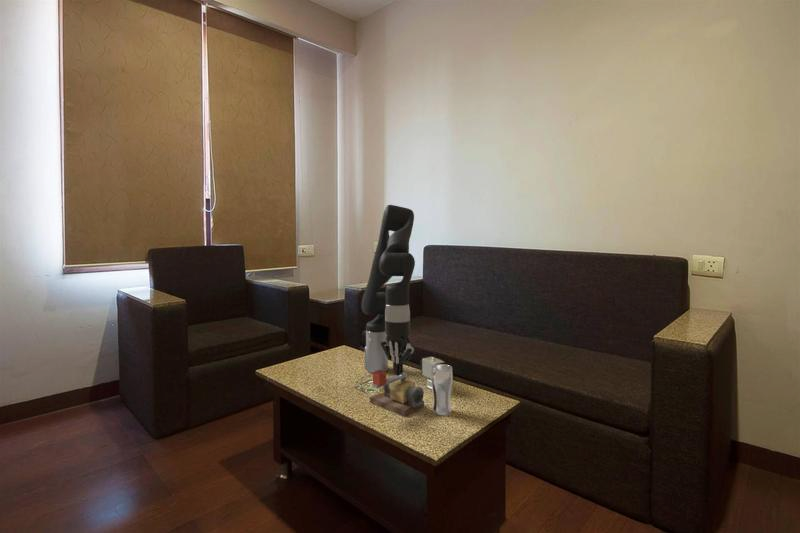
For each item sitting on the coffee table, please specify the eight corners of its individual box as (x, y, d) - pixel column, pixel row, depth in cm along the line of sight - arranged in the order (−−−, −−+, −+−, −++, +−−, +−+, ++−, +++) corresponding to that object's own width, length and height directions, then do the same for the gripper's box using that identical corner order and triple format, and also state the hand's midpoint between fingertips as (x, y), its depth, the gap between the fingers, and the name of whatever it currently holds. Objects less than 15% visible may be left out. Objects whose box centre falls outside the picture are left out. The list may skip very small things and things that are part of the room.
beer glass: (434, 405, 145) (434, 362, 144) (454, 408, 142) (455, 365, 141) (428, 414, 138) (428, 369, 137) (449, 417, 136) (449, 371, 135)
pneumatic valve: (438, 394, 154) (438, 362, 153) (419, 385, 164) (419, 354, 163) (450, 391, 158) (450, 359, 156) (430, 382, 167) (430, 352, 166)
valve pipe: (370, 402, 148) (369, 376, 147) (390, 394, 155) (390, 368, 154) (406, 417, 136) (406, 388, 135) (426, 407, 143) (426, 380, 143)
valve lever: (402, 375, 146) (402, 362, 146) (409, 377, 144) (409, 363, 144) (371, 387, 136) (371, 372, 136) (378, 389, 134) (378, 374, 133)
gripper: (422, 319, 127) (422, 376, 129) (390, 314, 136) (391, 367, 138) (405, 323, 122) (405, 383, 123) (373, 317, 131) (374, 372, 132)
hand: (397, 374), depth 130 cm, fingers closed
